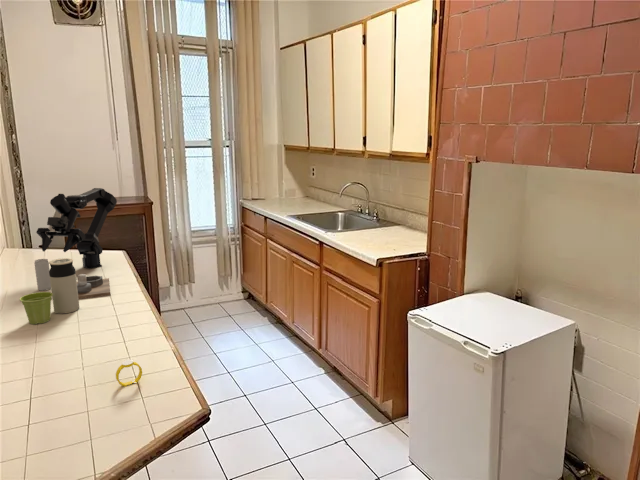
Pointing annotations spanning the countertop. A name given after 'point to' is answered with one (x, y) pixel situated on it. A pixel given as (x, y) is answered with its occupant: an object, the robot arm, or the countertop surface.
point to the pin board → (92, 286)
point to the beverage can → (42, 274)
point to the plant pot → (37, 306)
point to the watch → (128, 364)
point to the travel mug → (63, 286)
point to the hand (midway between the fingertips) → (53, 251)
